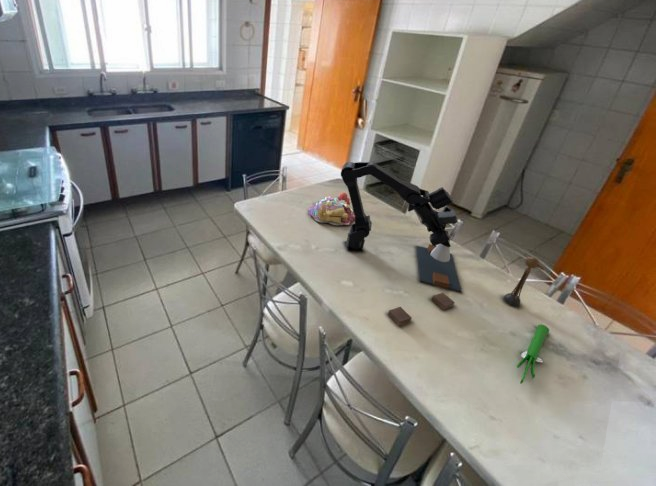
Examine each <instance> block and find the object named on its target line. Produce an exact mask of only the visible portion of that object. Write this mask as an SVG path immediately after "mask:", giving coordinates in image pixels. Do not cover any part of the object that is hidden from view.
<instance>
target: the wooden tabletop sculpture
mask: <svg viewBox="0 0 656 486" xmlns="http://www.w3.org/2000/svg"><path fill="white" fill-rule="evenodd" d="M524 263H525V265H526V266H527V267H525V270H524V272H523V274H522V275H521V278H520V279H519V281H518V282H517V284H516V286H515V287H514V288H513V290H512V291H511V292H510V293H507V294H505V295H504V296H503V302H504V303H506V304H507V305H509V306H511V307H514V308H518V307H520V304H521V293H522V290H523V287H524V285H525V283H526V281H527V279H528V277H529V275H530V274H531V272H532V269H540V270H542V271H544V270H545V269H546V267H545V266H544V265H541V264H540V263H541V262H540V260H539V259H538V258H537V257H535V256H528V257H526V258H525V260H524Z"/></svg>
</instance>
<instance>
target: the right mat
mask: <svg viewBox="0 0 656 486" xmlns="http://www.w3.org/2000/svg"><path fill="white" fill-rule="evenodd" d="M437 246H438V245H436V246H433V245H432V244H431V243H430V244H428V246H427V247H424V246H420V245H416V257H417V267H418V276H419V277H418V278H419V282H420V283H423V284H427V285H430V286H435V287H439V288H442V289H446V290H449V291H454V292H457V293H461V292H462V288H461V285H460V281H459V277H458V274H457V269H456V266H455V265H456V264H455V261H454V258H453V254H452V253H450V260H449V261H448V262H441V261H439V260H436V259H435V258H433V257H432V256H431V255H430V254H431V251H432V250H433V249H434V248H435V247H437Z"/></svg>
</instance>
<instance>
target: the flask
mask: <svg viewBox="0 0 656 486" xmlns="http://www.w3.org/2000/svg"><path fill="white" fill-rule="evenodd" d="M449 238H450V239H449V240H448V241H449V243H450V244H451V240H452V239H453V236H452V235H450V234H449ZM436 246H437V247H435V248H434V249H433V250H432V251H431V254H430V255H431V256H432V257H433V258H435V259H436V260H439V261H441V262H448V261H449V260H450V254H451V252H450V251H451V250H450V248H451V247H446V246H444V245H442V244H438V245H436Z"/></svg>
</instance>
